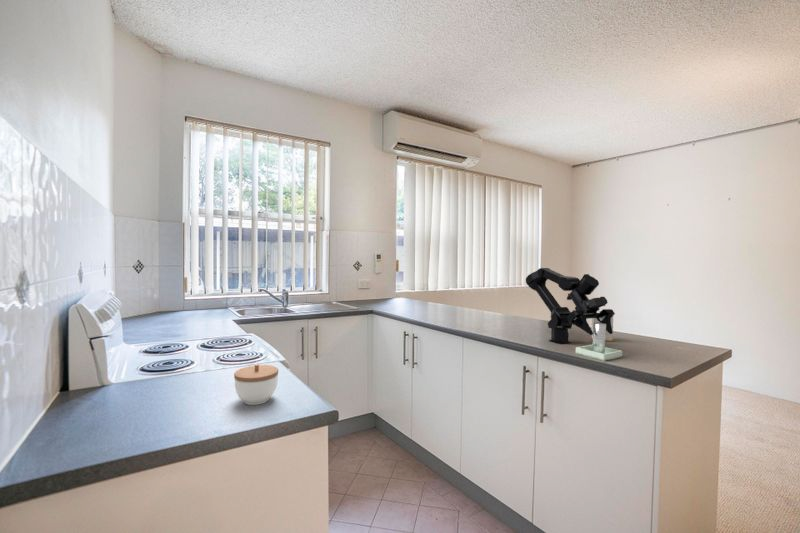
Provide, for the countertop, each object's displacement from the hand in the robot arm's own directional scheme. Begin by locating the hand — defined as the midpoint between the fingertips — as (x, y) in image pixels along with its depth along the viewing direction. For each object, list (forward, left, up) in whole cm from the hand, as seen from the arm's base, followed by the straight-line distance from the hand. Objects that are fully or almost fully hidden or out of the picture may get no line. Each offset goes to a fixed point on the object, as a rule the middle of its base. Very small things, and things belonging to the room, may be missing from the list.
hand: (601, 334), depth 142 cm
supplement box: (-17, +28, -9) cm, 34 cm away
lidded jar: (-16, -124, -9) cm, 125 cm away
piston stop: (-1, 0, -8) cm, 8 cm away
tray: (-1, 0, -9) cm, 9 cm away
